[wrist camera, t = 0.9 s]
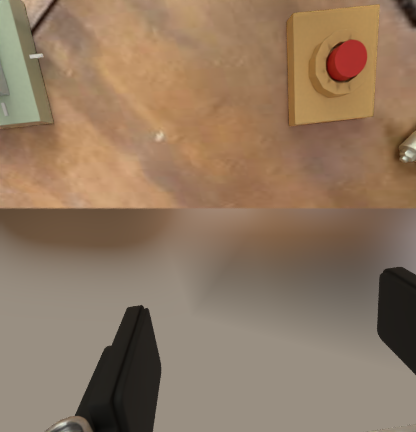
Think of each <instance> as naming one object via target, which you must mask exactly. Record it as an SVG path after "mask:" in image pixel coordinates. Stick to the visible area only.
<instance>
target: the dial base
mask: <svg viewBox="0 0 416 432" xmlns="http://www.w3.org/2000/svg"><path fill="white" fill-rule="evenodd" d="M38 58H44V57H43V54H36V50H35V46H34V42H33V38H32V34H31V30H30V26H29V22H28V18H27V14H26V10H25V6H24V3H23V2H22V1H21V0H0V62H1V65H2V69H3V72H4V76H5V79H6V83H7V86H8V90H9V93H10V95H5V96H0V129H6V128H16V127H25V126H34V125H43V124H52V123H54V122H53V118H52V114H51V110H50V106H49V102H48V98H47V94H46V90H45V86H44V82H43V78H42V74H41V70H40V66H39V62H38Z"/></svg>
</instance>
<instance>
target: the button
mask: <svg viewBox="0 0 416 432" xmlns="http://www.w3.org/2000/svg"><path fill="white" fill-rule="evenodd" d="M366 62H367V50H366V48H365V46H364V44H363V43H361V42H360V41H358V40H348V41H346V42H344V43H342V44H341V45H340V46H338V47H337V48H335V49H334V50H333V51H332V52H331V54H330V55H329V58H328V61H327V70H328V73H329V75H330V76H331V77H332V78H333V79H335V80H338V81H344V80H347V79H349V78H351V77H354V76H356V75H357V74H359V73H360V72H361V71H362V70H363V68H364V67H365V65H366Z"/></svg>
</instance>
